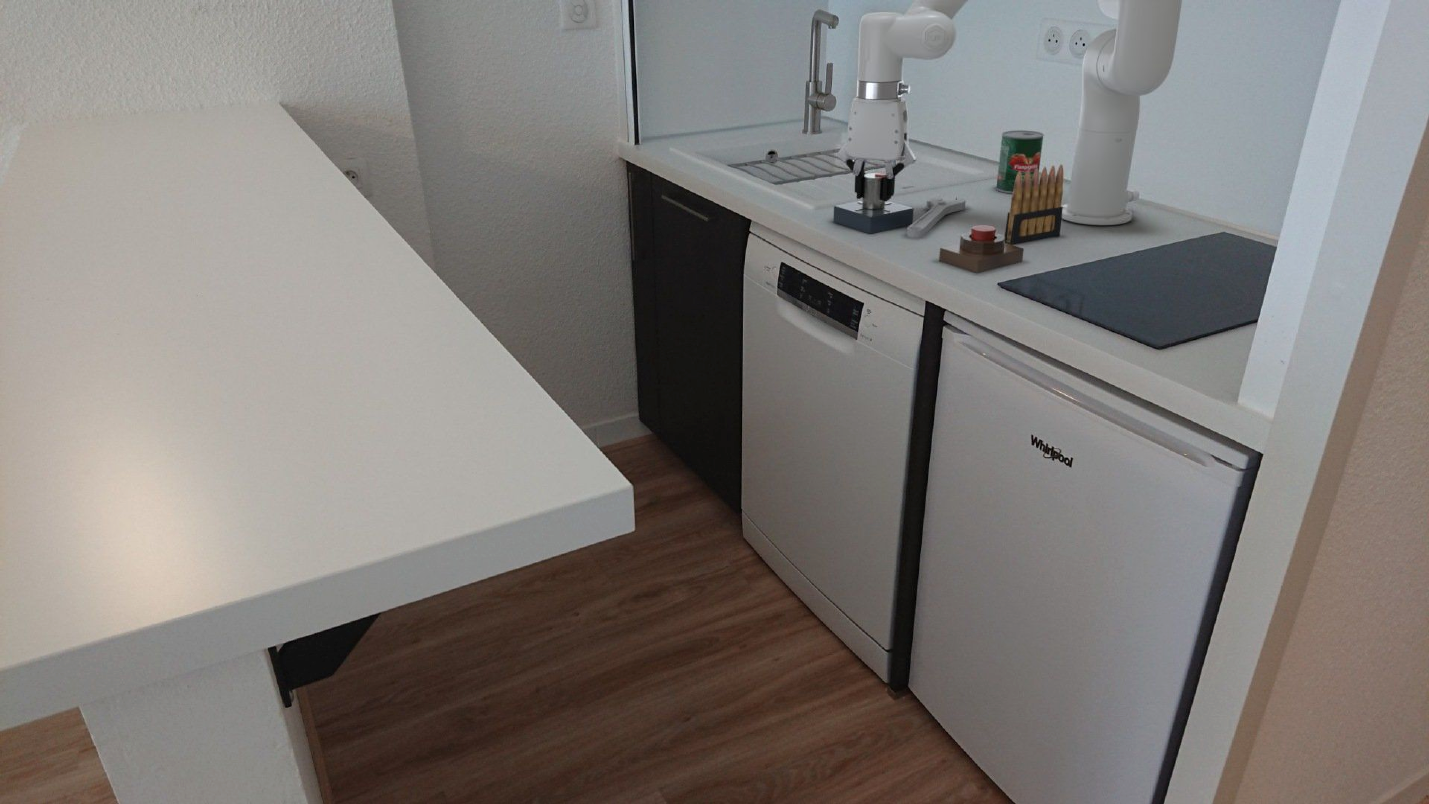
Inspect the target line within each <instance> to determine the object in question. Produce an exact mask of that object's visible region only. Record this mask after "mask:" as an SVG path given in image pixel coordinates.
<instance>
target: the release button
mask: <svg viewBox="0 0 1429 804" xmlns="http://www.w3.org/2000/svg"><path fill="white" fill-rule="evenodd" d="M970 232H971V239H975V240H982V241H988V240H995V233H997V228H996V227H994V226H992V225H987V224H986V225H985V224H979V225H974V226H972V227H971V231H970Z"/></svg>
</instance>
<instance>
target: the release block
mask: <svg viewBox="0 0 1429 804" xmlns="http://www.w3.org/2000/svg"><path fill="white" fill-rule="evenodd" d="M1004 236H1005V235H1003V234H1001V233H997V232H996V233H995V240H988V241H982V240H975V239H971V231H968V232H963V233H962V234H961V235H960V241H959V243H955V244H950V245H947V246H942V247H940V248H939V257H938V258H939V259H938V261H939V262H941V263H944V264H947V265H950V266H953V267H957V268H959V269H962V270H965V271H968V272H972V273H974V274H982V273H984V272H988V271H992V270H996V269H1001V268H1004V267H1007V266H1010V265H1011V266H1012V265H1015V264H1018V263H1023V261H1024V260H1023V259H1024V250H1025V249H1024V248H1023V247H1021V246H1017V245H1015V244H1014V245H1010V244H1007V243H1005V237H1004Z"/></svg>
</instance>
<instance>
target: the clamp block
mask: <svg viewBox="0 0 1429 804" xmlns="http://www.w3.org/2000/svg"><path fill="white" fill-rule="evenodd" d="M914 209H915V208H914V207H911V206H908V205H904V204H901V203H896V202H893V201H889V200H888V201H885V207H884V208H882V209H866V208H863V207H862V200H857V201H851V202H847V203H842V204H836V205H834V206H833V223H836V224H838V225H842V226H845V227H847V228H851V229H853V230H857V231H860V232H863V233H866V234H869V235H871V234H875V233H880V232H885V231H889V230H890V231H891V230H895V229H899V228H904V227H909V226H910V225H911V224H913V223H914Z"/></svg>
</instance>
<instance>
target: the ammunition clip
mask: <svg viewBox="0 0 1429 804" xmlns="http://www.w3.org/2000/svg"><path fill="white" fill-rule="evenodd" d="M1030 184H1031V187H1030ZM1063 187H1064V166H1063V164H1060V165H1059V167H1058V168H1057V171H1056V168H1055V165H1052V166H1051V167H1050V169H1049V172H1048V170H1047V167H1046V166H1043V168H1042V171H1041V173H1040V170H1039V171H1038V168H1036V169H1035V171H1034V174H1033V177H1032V182H1031V175H1030V170H1029V169H1028V170H1027V172H1026V174H1025V177H1024V181H1023V187H1022V173H1021V171H1019V172H1018V174H1017V176H1016V180H1015V185H1014V190H1013V194H1012V196H1011V199H1010V207H1009V212H1007V215H1006V216H1007V217H1006V223H1005V230H1004V235H1003V236H1004V237H1005V243H1007V244H1010V245H1014V246H1015V245H1020V244H1024V243H1030V242H1035V241H1036V242H1037V241H1041V240H1047V239H1052V238H1058V237H1059V238H1060V235H1061V227H1062V220H1063V219H1062V209H1063V207H1061V206H1062V201H1063V195H1064V194H1063V193H1064V188H1063Z"/></svg>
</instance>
